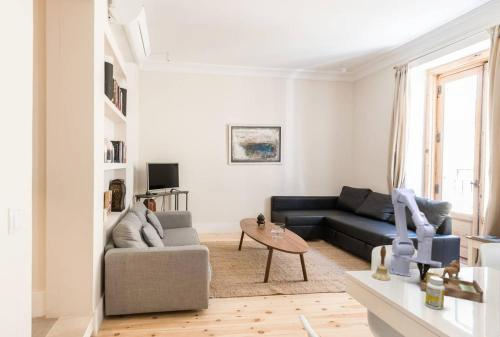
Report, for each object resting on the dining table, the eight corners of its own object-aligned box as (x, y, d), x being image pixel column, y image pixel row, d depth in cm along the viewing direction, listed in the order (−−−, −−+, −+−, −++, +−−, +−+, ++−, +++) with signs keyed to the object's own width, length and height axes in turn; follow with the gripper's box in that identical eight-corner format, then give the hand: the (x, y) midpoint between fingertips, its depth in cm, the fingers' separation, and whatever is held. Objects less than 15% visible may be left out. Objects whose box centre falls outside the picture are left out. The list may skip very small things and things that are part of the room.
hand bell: (393, 281, 158) (395, 248, 158) (375, 280, 158) (378, 247, 158) (386, 275, 166) (388, 244, 166) (370, 274, 167) (372, 243, 166)
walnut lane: (420, 290, 148) (421, 280, 148) (419, 279, 163) (419, 270, 162) (482, 302, 138) (483, 292, 138) (474, 290, 153) (475, 280, 153)
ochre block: (426, 283, 152) (427, 275, 152) (426, 280, 156) (426, 272, 156) (439, 286, 150) (439, 277, 150) (438, 282, 154) (438, 274, 154)
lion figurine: (449, 275, 173) (451, 258, 173) (461, 278, 169) (462, 261, 169) (439, 280, 163) (440, 262, 163) (451, 284, 159) (452, 265, 159)
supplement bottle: (431, 309, 128) (433, 280, 128) (421, 302, 135) (423, 275, 134) (447, 310, 129) (449, 281, 129) (436, 302, 135) (438, 275, 135)
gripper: (407, 250, 154) (405, 278, 154) (443, 255, 148) (440, 285, 148) (407, 246, 160) (405, 274, 161) (441, 252, 154) (439, 280, 155)
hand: (422, 279), depth 155 cm, fingers closed
